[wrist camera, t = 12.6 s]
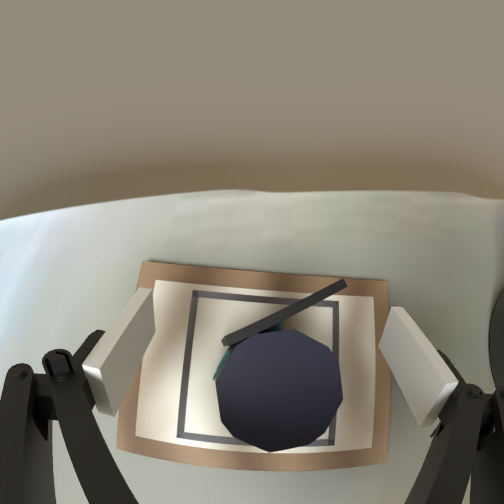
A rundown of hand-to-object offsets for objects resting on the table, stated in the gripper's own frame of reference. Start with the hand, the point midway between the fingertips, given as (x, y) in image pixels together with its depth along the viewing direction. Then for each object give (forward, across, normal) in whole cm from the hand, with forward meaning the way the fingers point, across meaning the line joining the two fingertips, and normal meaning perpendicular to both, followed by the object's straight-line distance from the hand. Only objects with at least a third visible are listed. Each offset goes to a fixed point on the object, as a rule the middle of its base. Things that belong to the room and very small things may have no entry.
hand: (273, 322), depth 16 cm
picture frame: (+3, 0, -6) cm, 7 cm away
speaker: (+2, 0, -6) cm, 6 cm away
